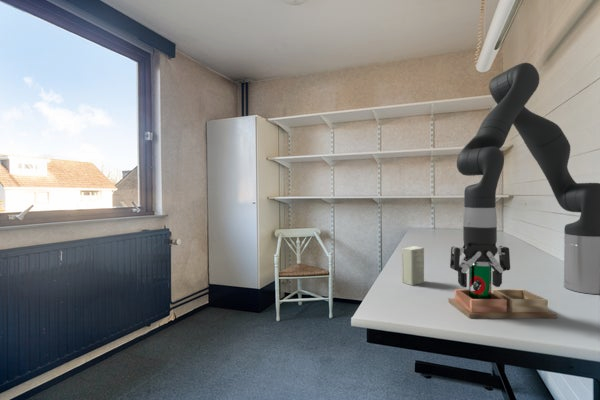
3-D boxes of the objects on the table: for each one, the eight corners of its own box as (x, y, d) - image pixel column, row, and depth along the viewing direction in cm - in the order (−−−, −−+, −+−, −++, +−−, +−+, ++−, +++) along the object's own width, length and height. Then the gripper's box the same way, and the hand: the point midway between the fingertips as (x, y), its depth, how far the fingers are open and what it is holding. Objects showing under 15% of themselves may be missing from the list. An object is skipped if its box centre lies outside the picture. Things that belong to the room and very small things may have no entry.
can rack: (524, 301, 85) (524, 287, 85) (556, 318, 74) (556, 301, 74) (448, 302, 86) (448, 287, 86) (469, 318, 75) (469, 302, 75)
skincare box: (414, 279, 108) (414, 245, 107) (424, 283, 104) (424, 247, 104) (401, 282, 105) (401, 247, 104) (411, 285, 101) (411, 249, 101)
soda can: (494, 309, 77) (494, 262, 77) (472, 308, 78) (472, 262, 78) (486, 302, 82) (486, 258, 82) (466, 301, 83) (466, 257, 83)
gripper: (498, 223, 83) (498, 281, 83) (445, 223, 83) (445, 282, 84) (517, 225, 76) (517, 290, 76) (459, 226, 76) (459, 291, 76)
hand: (479, 286), depth 80 cm, fingers open, 8 cm apart
